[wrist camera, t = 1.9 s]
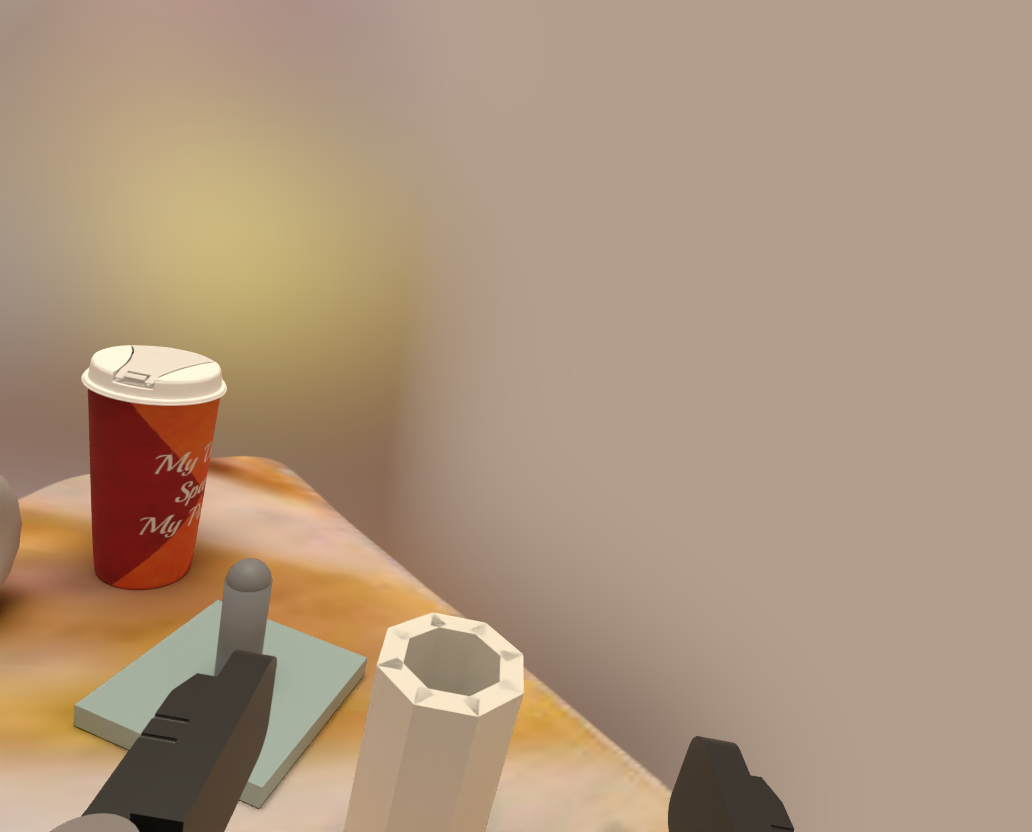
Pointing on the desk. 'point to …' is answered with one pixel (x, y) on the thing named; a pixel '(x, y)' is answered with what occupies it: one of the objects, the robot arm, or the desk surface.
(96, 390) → the paper cup
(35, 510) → the desk surface
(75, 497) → the desk surface
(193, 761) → the robot arm
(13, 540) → the donut
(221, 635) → the peg stand
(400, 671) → the white octagonal tube
